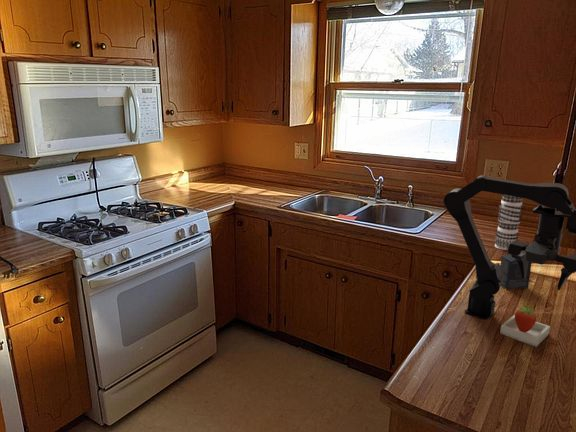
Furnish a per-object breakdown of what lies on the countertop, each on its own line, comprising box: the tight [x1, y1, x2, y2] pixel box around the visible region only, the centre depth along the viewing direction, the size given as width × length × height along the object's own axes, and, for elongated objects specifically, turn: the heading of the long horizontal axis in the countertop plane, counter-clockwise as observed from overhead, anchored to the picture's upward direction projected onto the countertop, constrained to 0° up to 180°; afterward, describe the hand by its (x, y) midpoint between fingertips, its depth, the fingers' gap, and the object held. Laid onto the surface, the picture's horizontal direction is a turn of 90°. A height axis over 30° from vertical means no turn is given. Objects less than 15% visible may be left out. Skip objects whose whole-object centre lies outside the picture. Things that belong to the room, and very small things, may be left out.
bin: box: [499, 314, 551, 348], centre depth 125 cm, size 9×9×2 cm
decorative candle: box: [494, 194, 524, 251], centre depth 191 cm, size 9×9×25 cm
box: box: [500, 254, 533, 290], centre depth 155 cm, size 8×6×11 cm
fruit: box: [514, 304, 537, 332], centre depth 124 cm, size 5×5×8 cm
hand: (540, 284), depth 125 cm, fingers open, 9 cm apart
